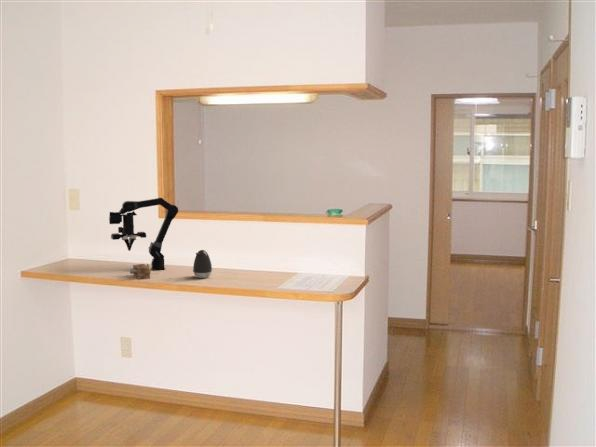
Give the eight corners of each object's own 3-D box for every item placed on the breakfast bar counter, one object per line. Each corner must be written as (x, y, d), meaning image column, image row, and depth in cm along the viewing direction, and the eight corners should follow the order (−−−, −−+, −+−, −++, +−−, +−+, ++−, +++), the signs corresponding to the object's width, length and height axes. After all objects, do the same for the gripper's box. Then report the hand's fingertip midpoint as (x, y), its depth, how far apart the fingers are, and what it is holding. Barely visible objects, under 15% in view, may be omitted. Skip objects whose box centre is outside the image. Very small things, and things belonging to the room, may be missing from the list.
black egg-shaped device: (189, 278, 332) (188, 250, 330) (200, 274, 341) (200, 247, 339) (204, 280, 327) (203, 252, 325) (215, 276, 336) (215, 249, 334)
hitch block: (144, 274, 342) (144, 263, 341) (149, 278, 332) (149, 267, 331) (133, 275, 339) (133, 264, 339) (138, 279, 329) (138, 268, 328)
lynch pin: (147, 273, 340) (147, 263, 339) (150, 275, 335) (150, 265, 334) (129, 275, 335) (129, 265, 334) (131, 277, 330) (131, 266, 330)
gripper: (141, 221, 359) (142, 247, 361) (108, 222, 350) (109, 249, 352) (146, 223, 349) (146, 250, 351) (112, 225, 341) (113, 252, 343)
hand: (129, 250), depth 350 cm, fingers closed
